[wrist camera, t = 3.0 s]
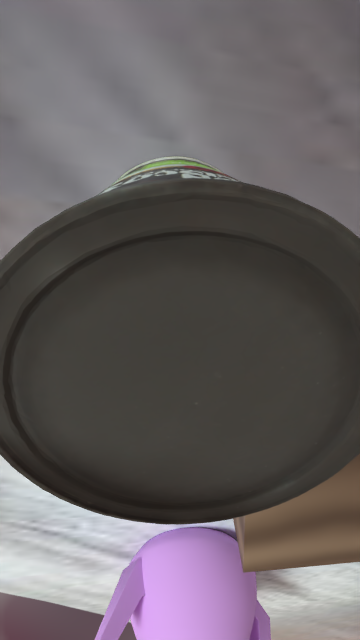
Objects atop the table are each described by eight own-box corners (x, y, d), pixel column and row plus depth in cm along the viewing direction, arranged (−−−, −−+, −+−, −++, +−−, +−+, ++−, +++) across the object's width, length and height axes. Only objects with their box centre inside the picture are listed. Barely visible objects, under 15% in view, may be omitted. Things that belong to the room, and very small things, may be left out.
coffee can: (100, 134, 16) (-87, 100, 4) (278, 180, 18) (523, 252, 6) (85, 303, 21) (-21, 516, 9) (226, 328, 23) (299, 538, 11)
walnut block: (223, 375, 25) (246, 464, 18) (394, 358, 25) (483, 441, 18) (226, 479, 32) (243, 572, 25) (360, 466, 32) (414, 556, 25)
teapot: (292, 544, 40) (338, 688, 29) (222, 592, 46) (239, 724, 35) (142, 498, 33) (132, 661, 23) (84, 561, 39) (55, 712, 29)
